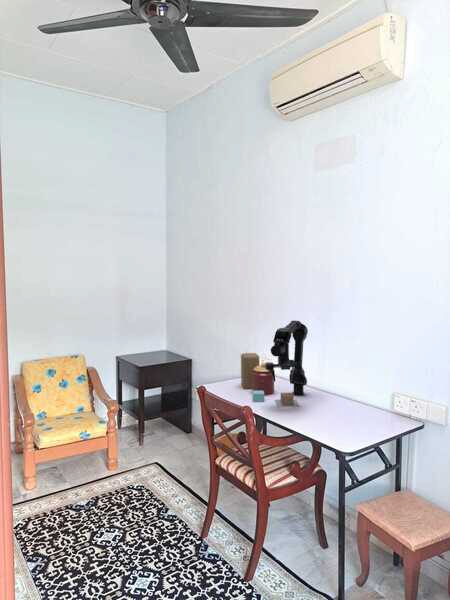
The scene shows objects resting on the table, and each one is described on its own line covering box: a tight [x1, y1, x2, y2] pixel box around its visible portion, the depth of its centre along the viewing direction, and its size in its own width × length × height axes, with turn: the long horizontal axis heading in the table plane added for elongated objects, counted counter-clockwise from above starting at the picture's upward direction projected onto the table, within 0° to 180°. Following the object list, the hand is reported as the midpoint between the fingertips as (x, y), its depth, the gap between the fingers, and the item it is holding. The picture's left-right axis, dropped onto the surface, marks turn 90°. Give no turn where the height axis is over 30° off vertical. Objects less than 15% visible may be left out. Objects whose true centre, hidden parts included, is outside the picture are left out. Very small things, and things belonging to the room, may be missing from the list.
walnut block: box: [280, 391, 294, 405], centre depth 236 cm, size 6×6×5 cm
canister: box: [251, 362, 275, 396], centre depth 257 cm, size 13×13×18 cm
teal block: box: [252, 391, 265, 403], centre depth 242 cm, size 6×6×5 cm
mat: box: [274, 399, 301, 408], centre depth 236 cm, size 12×12×1 cm
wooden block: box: [240, 352, 260, 390], centre depth 269 cm, size 10×10×20 cm
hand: (283, 381), depth 232 cm, fingers open, 9 cm apart
